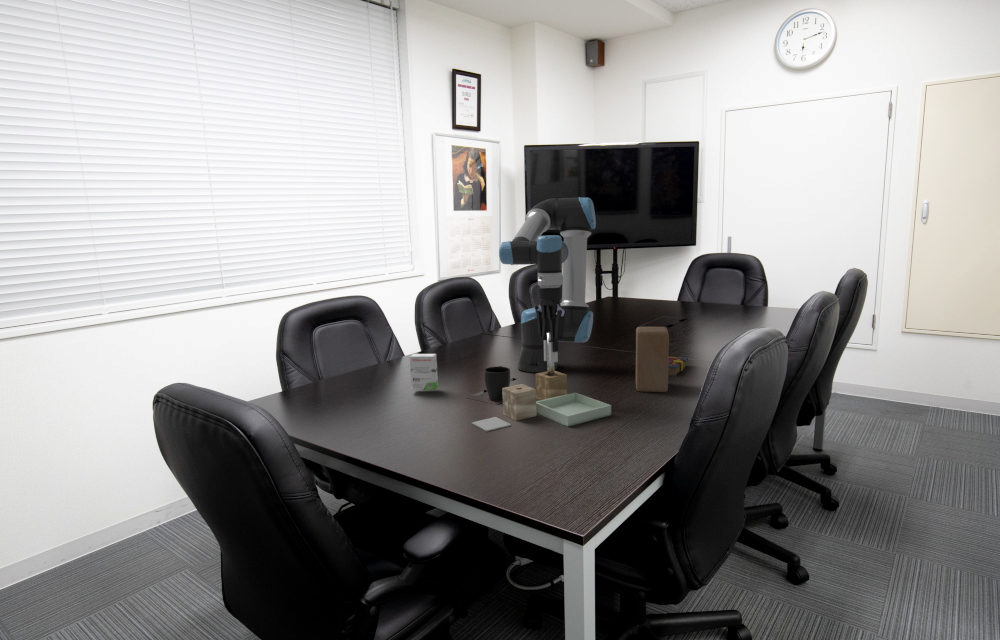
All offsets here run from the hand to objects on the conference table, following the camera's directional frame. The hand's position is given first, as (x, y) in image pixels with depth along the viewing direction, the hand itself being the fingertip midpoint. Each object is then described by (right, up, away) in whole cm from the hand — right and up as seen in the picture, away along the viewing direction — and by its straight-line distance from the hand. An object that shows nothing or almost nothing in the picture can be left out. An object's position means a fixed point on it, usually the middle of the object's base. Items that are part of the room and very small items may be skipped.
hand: (550, 360), depth 187 cm
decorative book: (+45, -6, +31) cm, 55 cm away
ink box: (-42, -11, +18) cm, 47 cm away
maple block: (-10, -15, -13) cm, 22 cm away
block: (+34, -10, +10) cm, 37 cm away
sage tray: (+5, -14, -12) cm, 20 cm away
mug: (-16, -12, +6) cm, 21 cm away
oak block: (0, -12, +2) cm, 12 cm away
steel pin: (0, -7, +1) cm, 7 cm away
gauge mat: (-18, -16, -20) cm, 32 cm away
